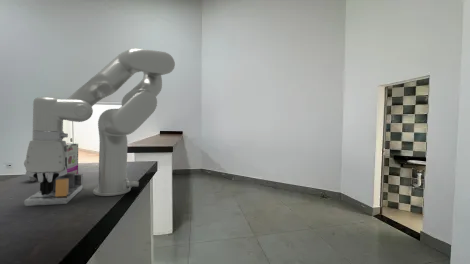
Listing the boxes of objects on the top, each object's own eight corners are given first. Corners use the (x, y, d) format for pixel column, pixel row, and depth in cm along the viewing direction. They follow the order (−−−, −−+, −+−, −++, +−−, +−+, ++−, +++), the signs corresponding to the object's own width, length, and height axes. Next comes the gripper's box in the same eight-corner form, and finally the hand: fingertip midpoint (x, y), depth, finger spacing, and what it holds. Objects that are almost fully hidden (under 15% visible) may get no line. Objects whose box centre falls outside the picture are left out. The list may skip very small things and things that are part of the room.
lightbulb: (21, 183, 95) (21, 156, 95) (27, 180, 101) (27, 154, 101) (39, 182, 98) (40, 156, 97) (44, 179, 103) (45, 154, 103)
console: (82, 188, 93) (83, 170, 93) (66, 203, 76) (67, 181, 76) (49, 189, 89) (49, 171, 89) (24, 206, 72) (24, 183, 72)
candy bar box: (67, 179, 105) (68, 142, 105) (78, 180, 105) (79, 143, 105) (47, 186, 94) (47, 145, 94) (59, 186, 94) (60, 145, 93)
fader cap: (68, 193, 79) (68, 178, 78) (65, 196, 76) (66, 180, 76) (58, 194, 78) (58, 178, 77) (55, 196, 75) (55, 180, 75)
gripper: (78, 136, 81) (77, 189, 82) (25, 135, 76) (23, 191, 77) (71, 137, 74) (70, 195, 74) (11, 136, 69) (10, 198, 70)
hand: (46, 193), depth 76 cm, fingers closed
